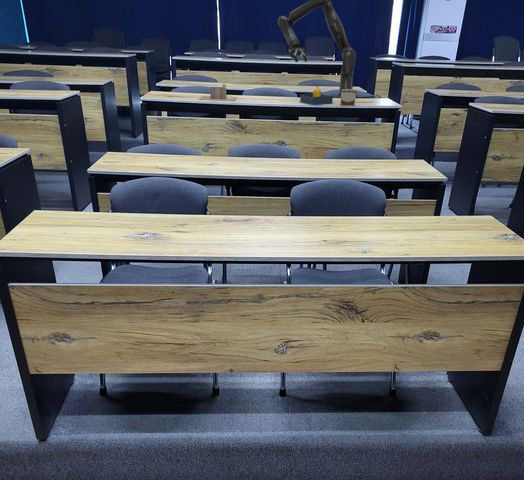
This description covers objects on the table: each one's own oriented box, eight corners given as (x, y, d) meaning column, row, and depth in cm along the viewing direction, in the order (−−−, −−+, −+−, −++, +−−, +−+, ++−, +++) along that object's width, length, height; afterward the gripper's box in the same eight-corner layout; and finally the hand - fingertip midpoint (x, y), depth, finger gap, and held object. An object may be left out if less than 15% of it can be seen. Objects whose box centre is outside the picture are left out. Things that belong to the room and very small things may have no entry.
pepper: (316, 101, 383) (317, 85, 377) (321, 102, 379) (322, 86, 373) (310, 102, 380) (311, 86, 374) (315, 103, 376) (317, 87, 370)
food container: (355, 104, 377) (357, 89, 371) (356, 105, 372) (357, 90, 366) (338, 103, 378) (340, 88, 372) (338, 105, 372) (340, 89, 367)
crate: (318, 100, 389) (318, 92, 386) (332, 103, 379) (333, 95, 376) (299, 101, 380) (300, 94, 377) (314, 105, 370) (314, 97, 367)
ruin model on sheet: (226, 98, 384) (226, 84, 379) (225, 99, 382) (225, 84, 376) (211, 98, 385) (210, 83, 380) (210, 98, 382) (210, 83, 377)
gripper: (287, 38, 375) (296, 57, 374) (302, 38, 383) (311, 57, 381) (282, 46, 382) (291, 65, 381) (297, 46, 389) (306, 64, 388)
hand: (301, 61), depth 381 cm, fingers open, 8 cm apart
